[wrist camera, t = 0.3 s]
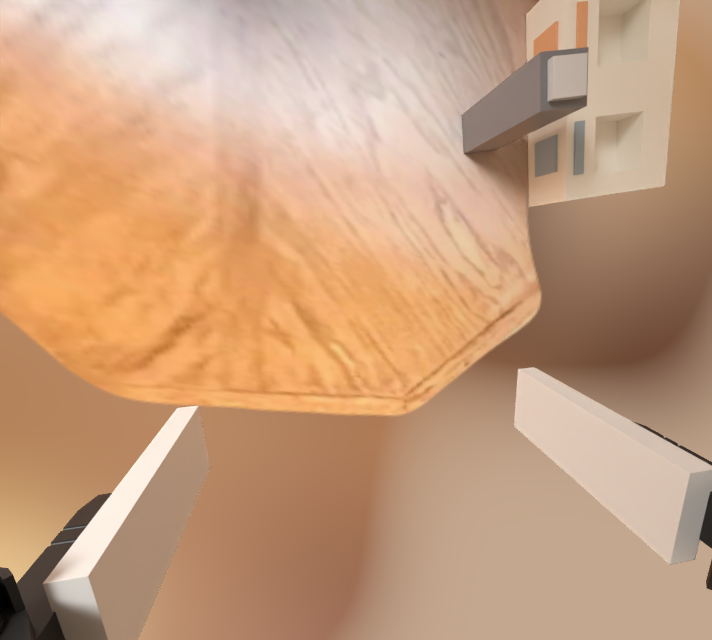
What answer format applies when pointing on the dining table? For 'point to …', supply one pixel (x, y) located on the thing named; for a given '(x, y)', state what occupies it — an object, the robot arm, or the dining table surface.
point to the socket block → (606, 98)
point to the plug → (528, 100)
